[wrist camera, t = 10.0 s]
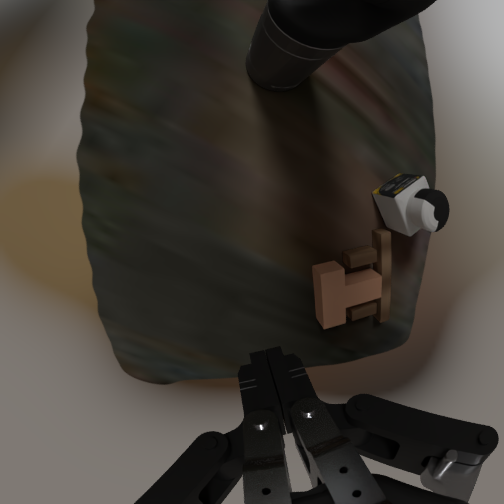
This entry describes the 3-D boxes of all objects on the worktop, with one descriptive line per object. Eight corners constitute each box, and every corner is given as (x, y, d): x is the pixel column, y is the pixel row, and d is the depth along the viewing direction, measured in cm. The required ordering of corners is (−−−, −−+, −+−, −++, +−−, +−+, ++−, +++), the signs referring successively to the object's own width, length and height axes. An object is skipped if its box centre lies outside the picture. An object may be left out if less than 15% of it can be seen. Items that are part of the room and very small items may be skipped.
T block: (311, 265, 45) (320, 274, 42) (370, 252, 46) (381, 259, 43) (316, 317, 48) (324, 329, 45) (370, 302, 49) (380, 311, 46)
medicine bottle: (399, 172, 43) (446, 178, 31) (413, 207, 45) (458, 220, 34) (370, 192, 43) (415, 202, 32) (386, 227, 45) (430, 246, 34)
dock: (341, 236, 45) (349, 241, 42) (381, 228, 45) (390, 232, 42) (345, 324, 50) (352, 332, 47) (381, 312, 50) (389, 319, 48)
